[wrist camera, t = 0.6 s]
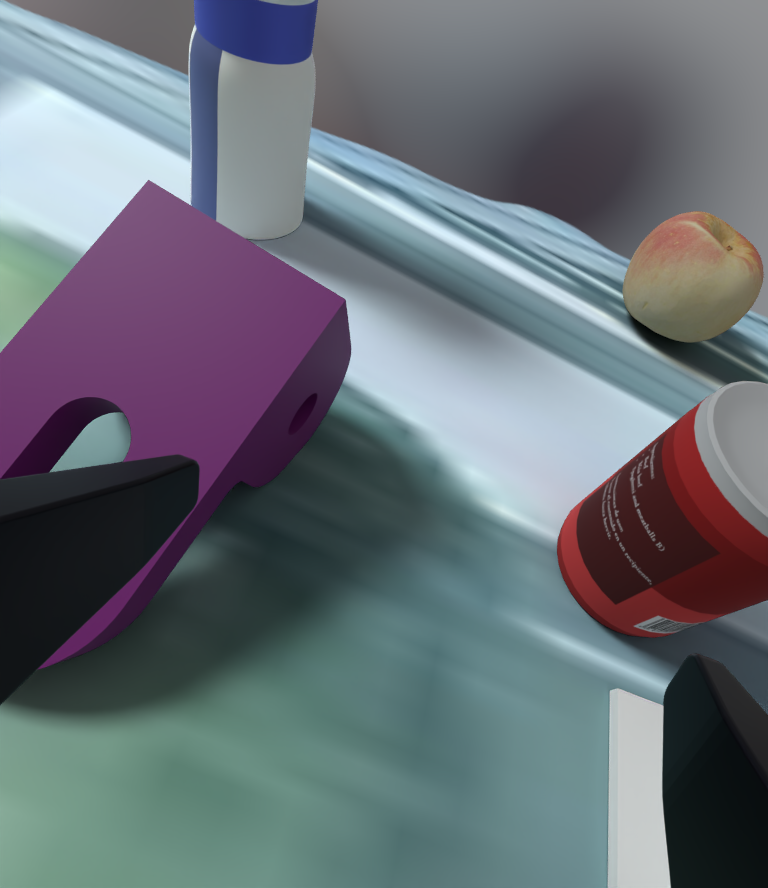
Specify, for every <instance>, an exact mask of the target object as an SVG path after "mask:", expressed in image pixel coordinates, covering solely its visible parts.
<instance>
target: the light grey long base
mask: <svg viewBox="0 0 768 888" xmlns="http://www.w3.org/2000/svg"><path fill="white" fill-rule="evenodd" d="M662 758H663V705H660V704H658V703H655V702H652V701H650V700H647V699H644V698H642V697H639V696H636V695H634V694H631V693H629V692H626V691H623V690H621V689H614V690H610V725H609V818H608V888H671V885H670V875H669V864H668V854H667V844H666V834H665V824H664V813H663V800H662Z"/></svg>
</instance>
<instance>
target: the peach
mask: <svg viewBox="0 0 768 888" xmlns="http://www.w3.org/2000/svg"><path fill="white" fill-rule="evenodd" d="M762 282H763V265H762V261H761V258H760V255H759V254H758V252H757V250H756V248H755V247H754V246H753V245H752V244H751V243H750V242H749V241H748V240H747V239H746V238H745V237H743V236H742V235H741V234H740V233H738V232H737V231H736V230H734V229H733V228H732V227H731V226H730V225H728V224H727V223H726V222H724V221H723V220H721V219H719V218H717V217H715V216H713V215H711V214H709V213H706V212H699V211H695V212H688V213H683V214H680V215H677V216H674V217H672V218H670V219H668V220H666V221H665V222H663V223H662V224H660V225H659V226H658V227H656V228H655V229H654V230H653V231H652V232H651V233H650V234H649V235H648V236H647V237H646V238H645V239H644V241H643V242H642V243H641V244H640V246H639V247H638V249H637V250H636V252H635V254H634V256H633V258H632V260H631V262H630V264H629V267H628V269H627V272H626V275H625V279H624V284H623V298H624V302H625V305H626V308H627V310H628V311H629V313H630V314H631V315H632V316H633V317H634V318H635V319H636V320H638V321H639V322H641V323H642V324H643V325H645V326H647V327H648V328H650V329H651V330H653V331H654V332H656V333H658V334H660V335H662V336H665V337H668V338H670V339H673V340H677V341H681V342H700V341H705V340H708V339H711V338H713V337H716V336H718V335H720V334H721V333H723V332H725V331H726V330H728V329H729V328H731V327H732V326H733V325H735V324H736V323H737V322H738V321H739V320H740V319H741V318H742V317H743V316H744V315H745V314H746V313H747V312H748V311H749V309H750V308H751V307H752V305H753V304H754V302H755V300H756V299H757V297H758V295H759V292H760V289H761V286H762Z"/></svg>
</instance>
